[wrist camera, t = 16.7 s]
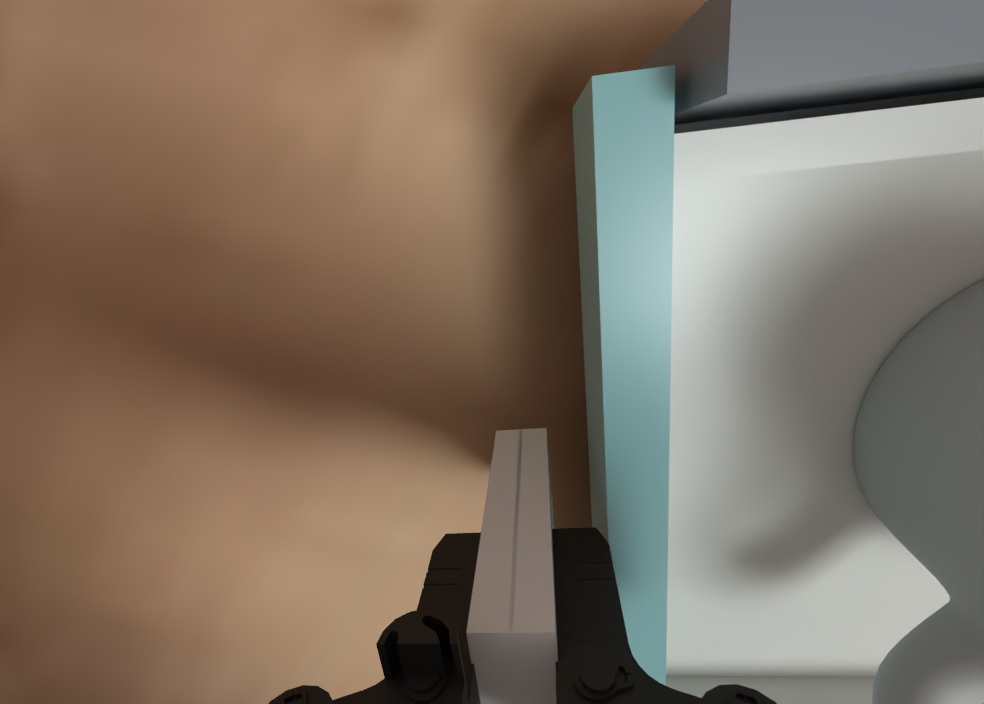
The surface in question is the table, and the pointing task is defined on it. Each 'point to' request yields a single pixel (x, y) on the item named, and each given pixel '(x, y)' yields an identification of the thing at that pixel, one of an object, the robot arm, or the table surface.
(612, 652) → the robot arm
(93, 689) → the table surface
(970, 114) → the tray
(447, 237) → the table surface
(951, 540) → the mug
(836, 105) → the dock
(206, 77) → the table surface
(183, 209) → the table surface
